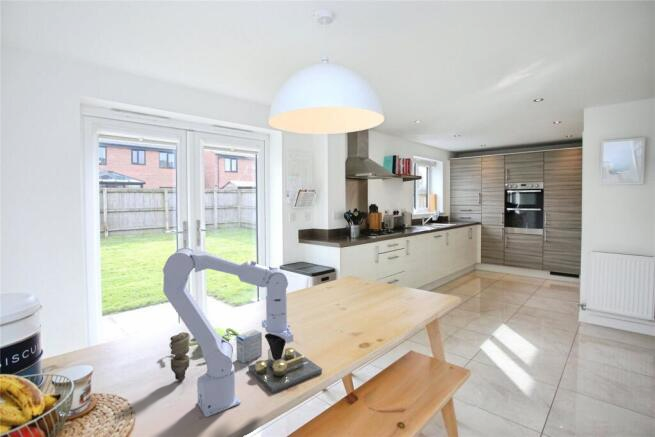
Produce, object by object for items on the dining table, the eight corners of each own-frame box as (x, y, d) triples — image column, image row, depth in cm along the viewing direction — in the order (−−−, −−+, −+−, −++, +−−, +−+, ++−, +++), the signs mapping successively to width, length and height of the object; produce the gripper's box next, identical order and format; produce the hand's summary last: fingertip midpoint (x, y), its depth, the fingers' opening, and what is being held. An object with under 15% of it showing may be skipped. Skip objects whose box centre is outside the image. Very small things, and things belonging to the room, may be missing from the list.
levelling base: (272, 393, 94) (272, 371, 93) (248, 370, 106) (248, 350, 106) (321, 373, 105) (321, 353, 104) (295, 354, 117) (295, 336, 117)
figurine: (161, 362, 112) (160, 346, 112) (202, 331, 138) (202, 318, 138) (211, 367, 109) (210, 350, 109) (243, 334, 136) (243, 321, 135)
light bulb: (193, 376, 103) (192, 329, 102) (186, 386, 97) (185, 337, 96) (175, 376, 103) (174, 330, 102) (167, 386, 97) (166, 337, 96)
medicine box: (254, 351, 119) (254, 328, 119) (262, 355, 117) (262, 331, 116) (236, 360, 113) (235, 335, 113) (244, 364, 110) (243, 339, 110)
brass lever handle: (277, 377, 99) (277, 368, 99) (270, 371, 102) (270, 362, 102) (307, 365, 106) (307, 356, 106) (300, 360, 109) (300, 352, 109)
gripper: (302, 316, 89) (302, 364, 90) (276, 302, 100) (276, 345, 101) (280, 322, 85) (280, 372, 85) (255, 307, 96) (256, 352, 97)
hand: (277, 358), depth 93 cm, fingers closed
